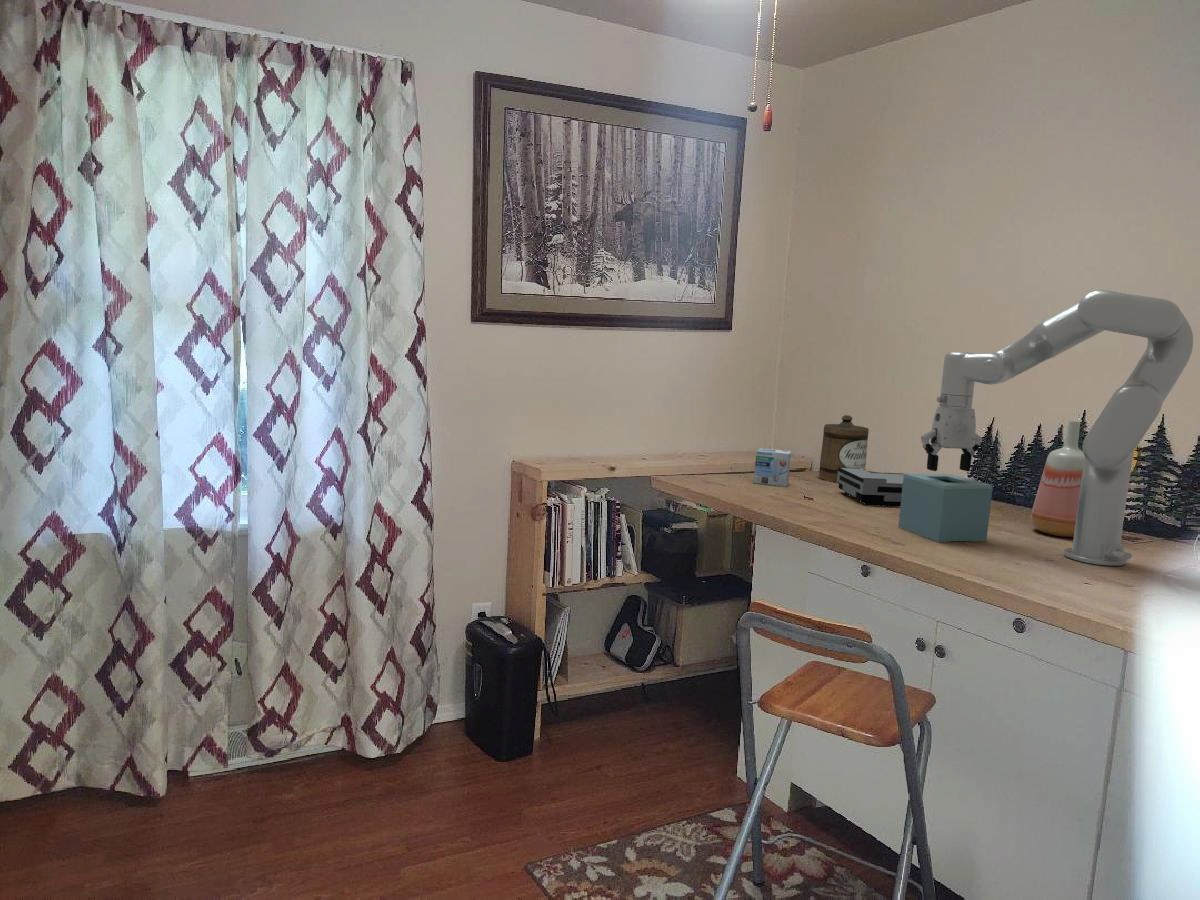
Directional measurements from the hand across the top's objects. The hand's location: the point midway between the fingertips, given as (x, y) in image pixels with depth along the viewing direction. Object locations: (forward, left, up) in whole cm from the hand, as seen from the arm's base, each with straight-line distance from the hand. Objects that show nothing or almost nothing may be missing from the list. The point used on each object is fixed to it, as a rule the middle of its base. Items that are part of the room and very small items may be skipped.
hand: (948, 470), depth 223 cm
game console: (+41, -17, -17) cm, 48 cm away
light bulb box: (+69, +12, -17) cm, 72 cm away
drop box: (0, 0, -16) cm, 16 cm away
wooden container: (+76, -18, -17) cm, 80 cm away
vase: (-2, -35, -16) cm, 39 cm away
